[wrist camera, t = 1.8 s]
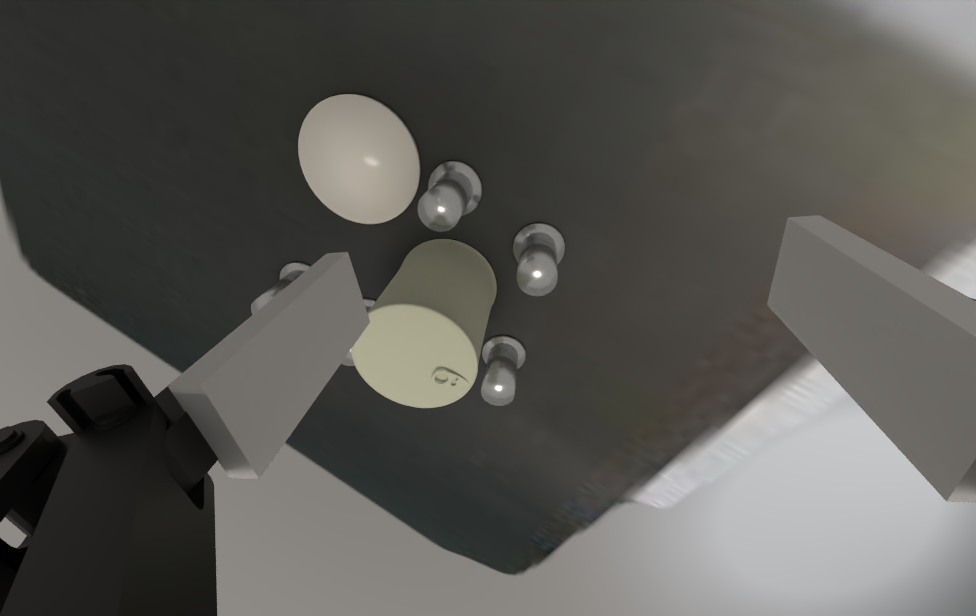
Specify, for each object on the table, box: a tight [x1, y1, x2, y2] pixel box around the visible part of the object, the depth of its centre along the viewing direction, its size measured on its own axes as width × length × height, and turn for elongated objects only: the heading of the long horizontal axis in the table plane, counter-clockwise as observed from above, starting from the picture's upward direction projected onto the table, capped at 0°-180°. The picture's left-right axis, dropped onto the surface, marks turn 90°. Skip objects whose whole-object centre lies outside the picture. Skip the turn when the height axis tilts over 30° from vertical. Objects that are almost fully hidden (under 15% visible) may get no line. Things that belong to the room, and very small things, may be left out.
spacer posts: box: [251, 161, 565, 406], centre depth 35 cm, size 25×19×6 cm
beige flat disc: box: [298, 94, 421, 224], centre depth 33 cm, size 10×10×1 cm
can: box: [351, 239, 497, 408], centre depth 33 cm, size 9×9×12 cm
